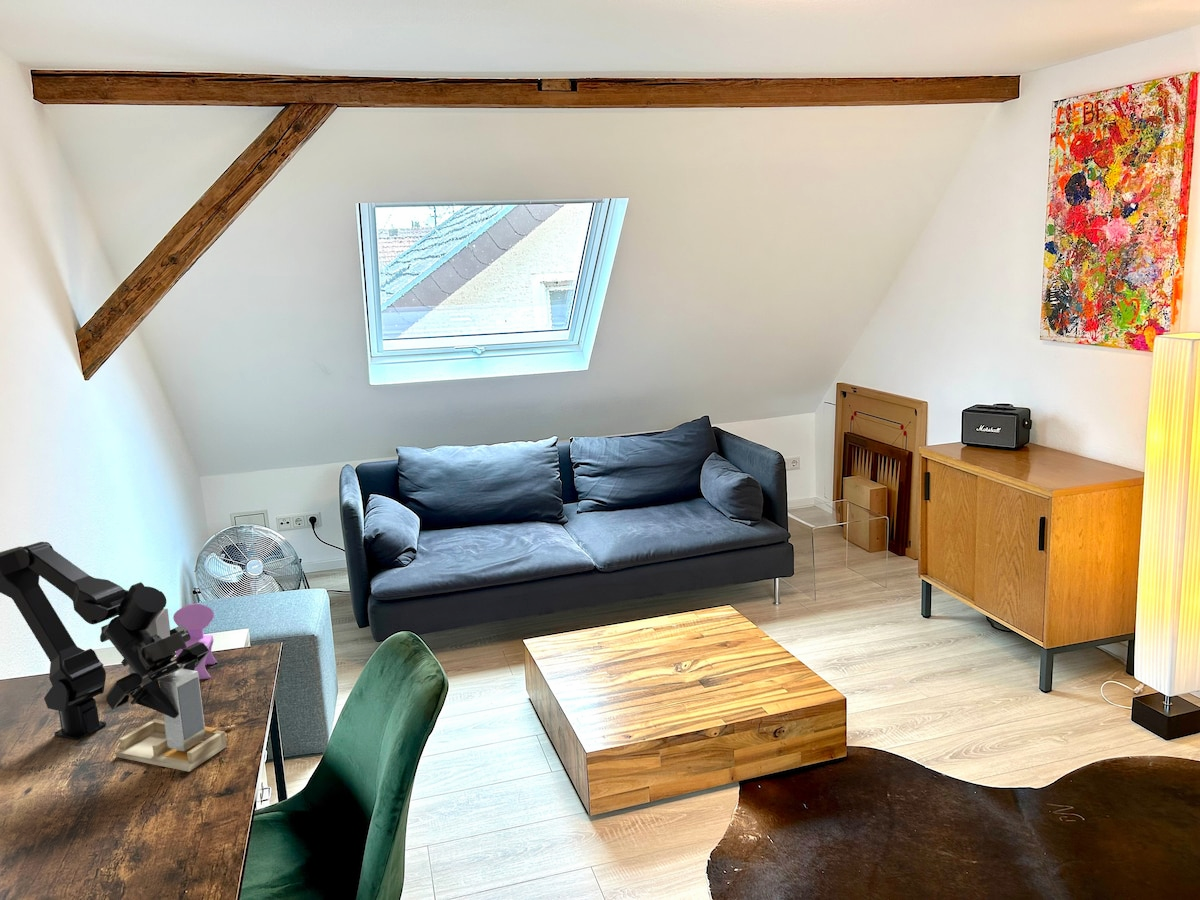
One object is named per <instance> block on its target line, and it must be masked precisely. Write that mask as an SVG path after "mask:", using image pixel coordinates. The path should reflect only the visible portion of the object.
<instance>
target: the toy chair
mask: <svg viewBox="0 0 1200 900" xmlns="http://www.w3.org/2000/svg"><path fill="white" fill-rule="evenodd" d="M214 613H215V612H214V610H213V608H211V607H209V606H206V605H205V604H201V603H192V604H191V603H190V604H188V605H185V606H182V607H181V608H179V609H178V610H177V611H175V613H174V614H173V621H174V623H175V624H176V626H177V627H178V626H180V625H183V627H184V628H185V629H186V630H187V631H188V632H189V634H190V640H189V641H187V642H185V644H186V646H187V647H189V646H191V645H193V644H195V643H197V642H200V643H204V644H205V645H206V647H207V648H208V649H209V650H210V651H209V653H208V654H207V655H206V656H205V658H204V659H203V660H202V661H201V663H200V664H199V665H198V666H197V667H196V668H195V669H194V671H198V675H199V680H206V679H211V678H212V676H211V675H210V674H209V672H208V671H207V669H206V665H207V664H210V665H215V663H217V664H218V661H217V660H216V658H215V657H214V655H213V653H212V648H213V645H214V644H213V643H214V635H213V634H207V635H204V634H205V633H204V632H205V631H204V629H205V628H206V627H208V626H210V625H209V624H210V623H211V622H212V621H213V619H214V618H215V617H214V616H215V614H214ZM187 647H186V648H187ZM182 650H183V649H179V650H177V651H175V652H176V653H177V654H176V655H175V656H176V658H177V657H178V656H179V654H180V653H181V652H182ZM207 666H208V665H207Z"/></svg>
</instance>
